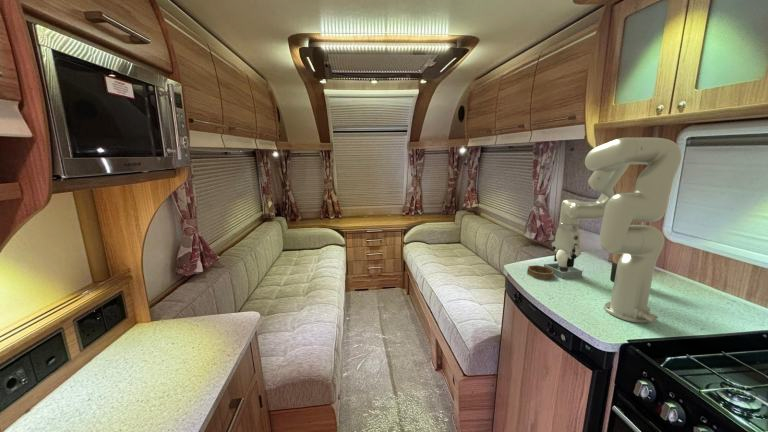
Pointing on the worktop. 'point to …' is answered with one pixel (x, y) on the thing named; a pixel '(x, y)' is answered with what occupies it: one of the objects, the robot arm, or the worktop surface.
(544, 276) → the holder ring
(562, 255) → the light bulb
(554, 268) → the tray
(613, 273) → the travel mug
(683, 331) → the worktop surface
